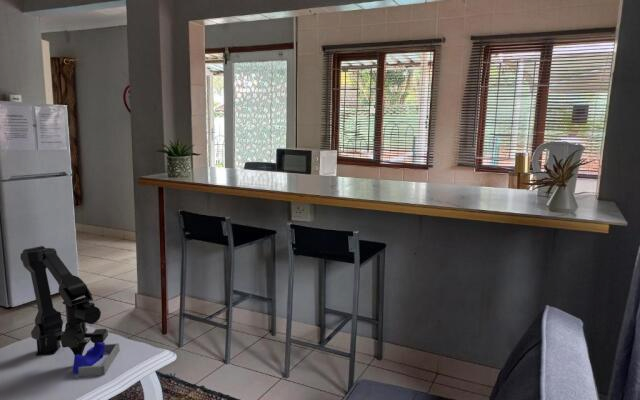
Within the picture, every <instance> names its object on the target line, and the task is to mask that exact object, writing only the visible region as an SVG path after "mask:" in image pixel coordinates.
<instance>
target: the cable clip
mask: <svg viewBox="0 0 640 400" xmlns="http://www.w3.org/2000/svg"><path fill="white" fill-rule="evenodd" d="M93 344H94V345H93V346H92V347H91V348H90V349H88V350H87V352H86V353H85V354H84V355H83V354H82V355H80V354H77V355H74V356H73V358H74V359H73V367H72V368H73V369H72V373H74V374H78V375H79V372H78V368H79V367H86V366H95V364H96V363H98V362H99V361H100V360H102V359H103V358H104V354H105V353H104V345H105V344H106V342H105V341H104V342H101V343H93Z"/></svg>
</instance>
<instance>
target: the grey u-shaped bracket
mask: <svg viewBox="0 0 640 400" xmlns="http://www.w3.org/2000/svg"><path fill="white" fill-rule="evenodd" d="M120 352H121V351H120V343H119V342H117V343H105V345H104V353H103V354H105V353H109V355H108V356H107V357H106V359H105V361H104V362H103V364H102V365H92V366H86V367H79V368H78V372H79V374H78V377H79V378H80V377H89V376H90V377H92V376H106V374H107V372H108V370H109V368H110V367H111V365H112V364H113V363H114V361H115V359H116V358H117V356H118V354H119V353H120Z"/></svg>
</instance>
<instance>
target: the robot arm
mask: <svg viewBox="0 0 640 400" xmlns="http://www.w3.org/2000/svg"><path fill="white" fill-rule="evenodd" d="M57 252H58V251H57V250H56V248H53V247H45V246H43V245H41V246H35V247H30V248H25V249H23V250H22V253H20V254H19V255H20V260H21V262H22V265H23V268H25V269H26V270H27V271H28V272H29V273H30V277H31V281H32V286H33V287H32V288H33V292H34V296H35V301H36V306H37V307H36V308H37V314H36V316H35V318H34V323H35V324H34V327H33V328H32V330H31V331H30V335H31V338H32V339H34V340H36V349H37V350H36V351H37V352H36V353H35V354H34V355H35V356H44V355H54V354H56V352H58V350H59V349H60V348H61V347H62V348H69V349H70V351H72V353H73V355H74V356H75V355H77V354H80V355H83V354H84V350H85V347H86V346H87V345H88V344H89V343H90V342H91V343H93V344H94V343H101V342H105V340H106V339H107V337H108V336H109V331H108V330H107V329H106V328H99V329H95V330H94V331H93V332H88V327H87V326H86V325H87V324H88V325H94V324H96V323H98V321H99V320H100V318H101V315H102V312H101V309H100V308H99V307H97V306H95V302H92V301H93V300H94V299H93V297H92V296H93V294H92V292H91V291H90V289H89V288H88V286H87V284H86V282H84V281H83V280H82V279H81V278H80V277H79V276H76V275H74V274H73V273H72V272H71V271H70V270H69V269H68V267H67V266H66V265H65V263H64V262H63V260H62V259H61V258H60V257H59V255H58V253H57ZM47 270H48V271H49V273H50V274H51V275H52V277H53V278H54V280H55V281H56V283H57V284H58V293H59V294H60V295H59V296H60V297H61V298H62V304H63V305H64V306H65V316H66V323H65V324H64V321H63V319H62V313H61V312H60V311H59V310H58V311H57V310H56V308H55V307H54V303H53V300H52V299H53V298H52V294H51V290H50V289H51V288H50V285H49V280H48V275H47ZM64 325H65V329H64V331H63V326H64Z"/></svg>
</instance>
